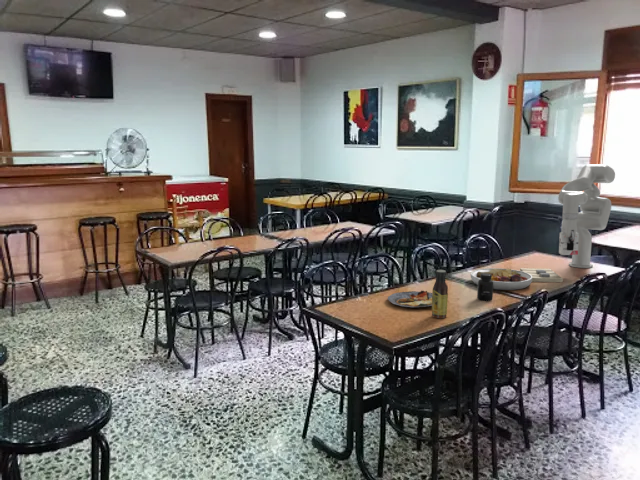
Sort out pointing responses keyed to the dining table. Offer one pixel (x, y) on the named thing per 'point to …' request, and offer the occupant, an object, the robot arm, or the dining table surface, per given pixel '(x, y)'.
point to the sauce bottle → (440, 295)
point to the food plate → (412, 299)
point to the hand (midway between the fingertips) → (568, 248)
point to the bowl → (504, 278)
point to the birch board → (538, 278)
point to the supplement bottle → (485, 288)
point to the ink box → (563, 245)
